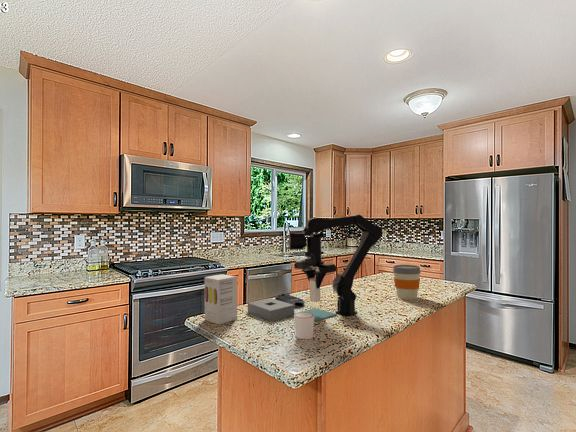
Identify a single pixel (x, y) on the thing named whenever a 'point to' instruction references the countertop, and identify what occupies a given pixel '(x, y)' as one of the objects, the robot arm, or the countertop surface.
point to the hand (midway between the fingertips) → (315, 287)
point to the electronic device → (290, 299)
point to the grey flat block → (271, 309)
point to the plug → (314, 290)
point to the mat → (319, 314)
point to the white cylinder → (304, 325)
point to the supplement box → (220, 298)
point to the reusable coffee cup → (406, 281)
